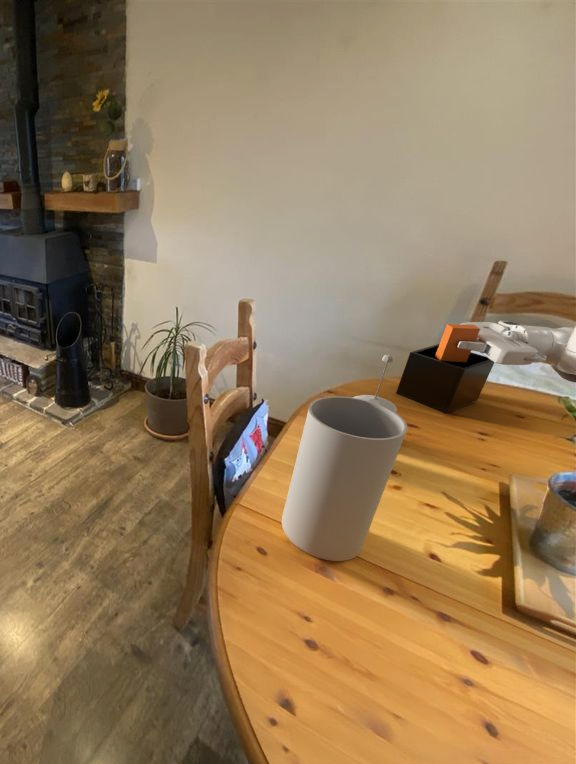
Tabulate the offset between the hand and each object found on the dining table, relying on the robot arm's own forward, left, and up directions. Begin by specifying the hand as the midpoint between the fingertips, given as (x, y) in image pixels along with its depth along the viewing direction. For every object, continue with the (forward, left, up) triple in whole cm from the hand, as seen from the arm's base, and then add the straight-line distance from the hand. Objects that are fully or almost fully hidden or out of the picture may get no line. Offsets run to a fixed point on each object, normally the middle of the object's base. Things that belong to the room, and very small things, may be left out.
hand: (453, 341), depth 105 cm
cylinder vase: (-22, +67, -17) cm, 73 cm away
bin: (-1, -1, -17) cm, 17 cm away
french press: (-10, +42, -17) cm, 46 cm away
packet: (-1, -1, -5) cm, 5 cm away
